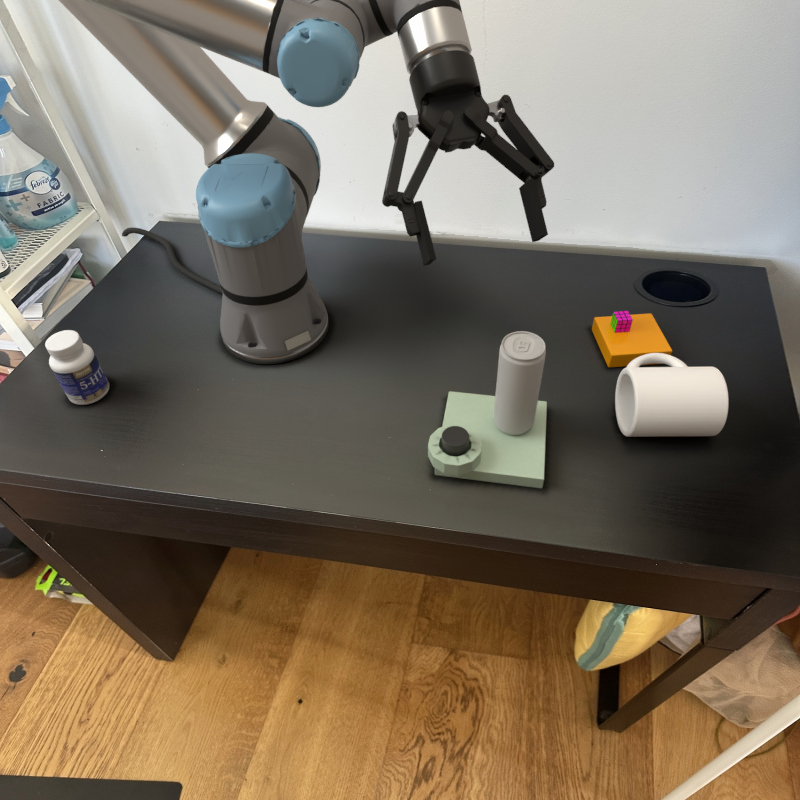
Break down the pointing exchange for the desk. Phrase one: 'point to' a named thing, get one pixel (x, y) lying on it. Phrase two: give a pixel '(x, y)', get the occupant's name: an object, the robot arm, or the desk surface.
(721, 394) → the mug
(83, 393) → the pill bottle
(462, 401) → the scale
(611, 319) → the orange square tile
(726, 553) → the desk surface
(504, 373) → the beverage can
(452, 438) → the tare button
